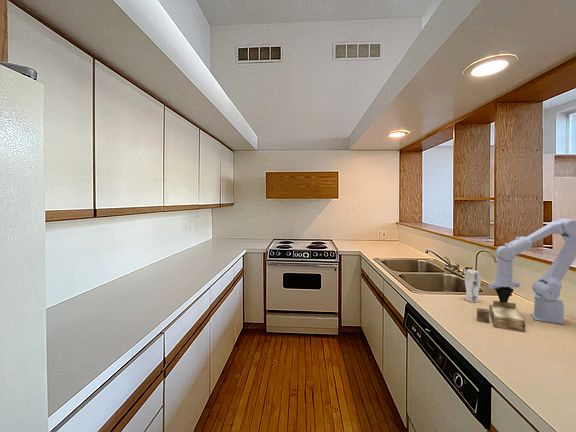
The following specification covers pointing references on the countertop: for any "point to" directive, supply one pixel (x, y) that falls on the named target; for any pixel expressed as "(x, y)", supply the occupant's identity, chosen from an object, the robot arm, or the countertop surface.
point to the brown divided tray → (506, 323)
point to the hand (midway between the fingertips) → (503, 303)
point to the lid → (506, 311)
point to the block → (482, 315)
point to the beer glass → (472, 285)
